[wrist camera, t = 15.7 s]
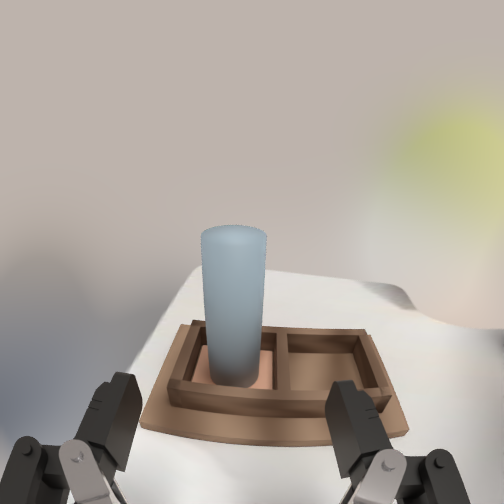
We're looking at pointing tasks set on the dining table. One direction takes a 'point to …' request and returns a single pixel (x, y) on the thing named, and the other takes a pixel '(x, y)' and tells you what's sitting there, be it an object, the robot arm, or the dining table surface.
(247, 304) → the slate peg
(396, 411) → the slot rack
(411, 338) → the dining table surface
